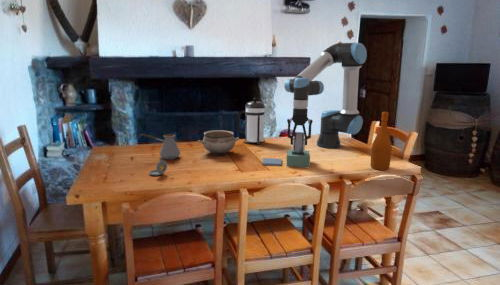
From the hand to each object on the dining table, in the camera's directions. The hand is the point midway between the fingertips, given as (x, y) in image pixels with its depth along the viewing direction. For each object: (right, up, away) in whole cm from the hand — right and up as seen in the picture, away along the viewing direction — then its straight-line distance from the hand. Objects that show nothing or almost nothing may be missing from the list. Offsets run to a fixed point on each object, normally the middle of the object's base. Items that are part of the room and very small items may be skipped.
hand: (298, 150), depth 196 cm
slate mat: (-14, -7, +3) cm, 16 cm away
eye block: (0, -7, +2) cm, 7 cm away
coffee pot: (-76, -5, +8) cm, 76 cm away
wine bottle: (+42, -9, -3) cm, 44 cm away
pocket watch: (-71, -11, -19) cm, 74 cm away
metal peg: (0, -7, +2) cm, 7 cm away
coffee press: (-24, +4, +47) cm, 53 cm away
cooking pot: (-44, -2, +20) cm, 49 cm away
